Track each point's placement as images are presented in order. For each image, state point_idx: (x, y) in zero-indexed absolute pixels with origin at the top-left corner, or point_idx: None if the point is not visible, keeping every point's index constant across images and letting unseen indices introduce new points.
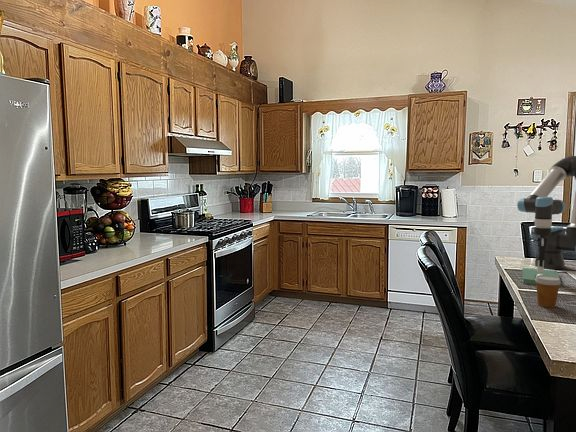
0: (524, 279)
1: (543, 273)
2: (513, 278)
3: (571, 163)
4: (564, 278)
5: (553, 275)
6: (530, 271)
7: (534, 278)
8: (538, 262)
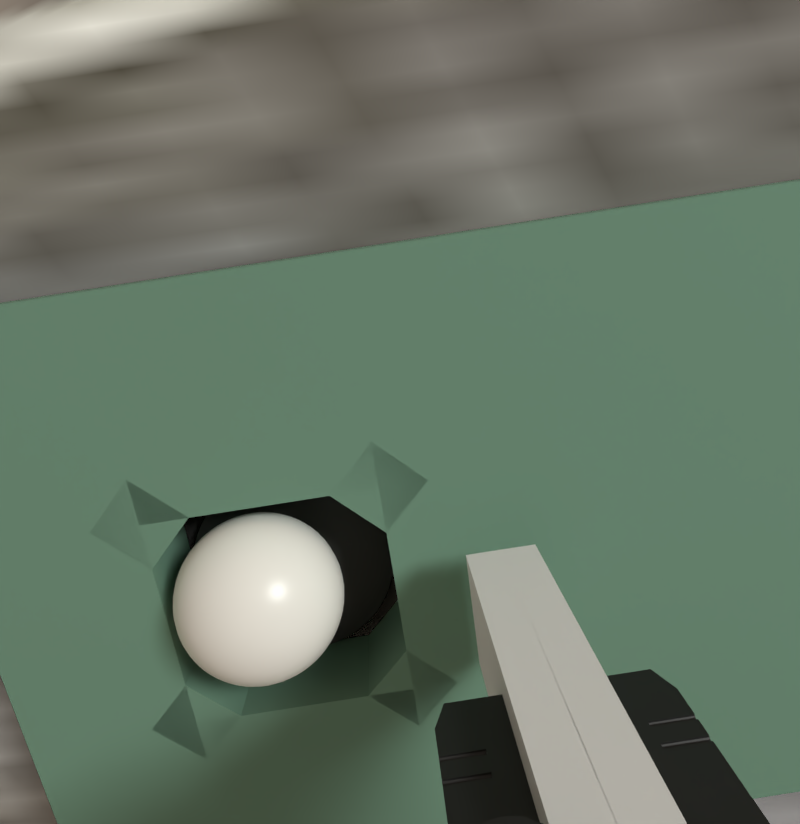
0: None
1: (672, 604)
2: (308, 49)
3: None
4: (759, 801)
5: None
6: (766, 356)
7: (80, 519)
8: (532, 765)
